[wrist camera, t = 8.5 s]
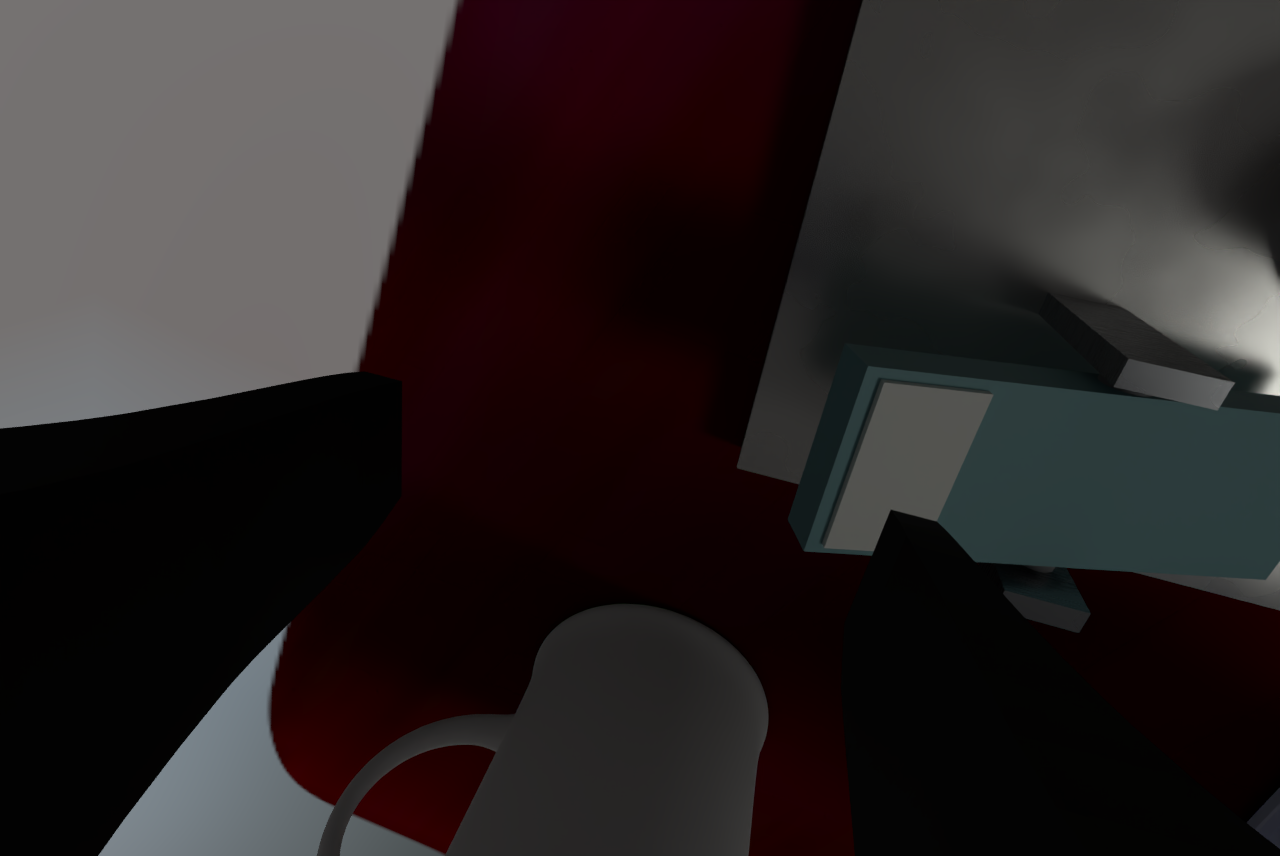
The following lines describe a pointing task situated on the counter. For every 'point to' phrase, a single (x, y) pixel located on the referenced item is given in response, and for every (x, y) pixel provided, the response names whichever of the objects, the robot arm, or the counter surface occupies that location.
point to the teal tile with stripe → (1042, 467)
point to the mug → (606, 746)
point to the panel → (1042, 217)
